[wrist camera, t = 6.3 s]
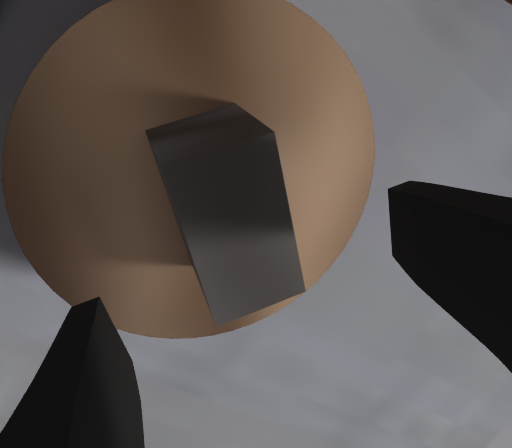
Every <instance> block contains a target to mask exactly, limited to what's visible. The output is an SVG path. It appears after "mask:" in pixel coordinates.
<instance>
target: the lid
mask: <svg viewBox="0 0 512 448" xmlns="http://www.w3.org/2000/svg"><path fill="white" fill-rule="evenodd" d="M374 157H375V145H374V129H373V122H372V115H371V111H370V107H369V103H368V100H367V96H366V93H365V90H364V88H363V86H362V83H361V81H360V79H359V76H358V74H357V72H356V70H355V68H354V67H353V65H352V63H351V62H350V60H349V58H348V57H347V55H346V53H345V52H344V51H343V50H342V48H341V47H340V46H339V45H338V43H337V42H336V41H335V40H334V39H333V37H332V36H331V35H330V34H329V33H328V32H327V31H326V30H325V29H324V28H323V27H322V26H320V25H319V24H318V23H317V22H316V21H315V20H314V19H313V18H312V17H310V16H309V15H307V14H306V13H304V12H303V11H301V10H300V9H298V8H297V7H295V6H294V5H292V4H291V3H289V2H287V1H285V0H112V1H110V2H108V3H106V4H104V5H102V6H100V7H98V8H96V9H94V10H93V11H92V12H90V13H89V14H87V15H86V16H85V17H83V18H82V19H80V20H79V21H78V22H76V23H75V24H74V25H72V26H71V27H70V28H69V29H68V30H67V31H66V32H65V33H64V34H63V35H62V36H61V37H60V38H59V39H58V40H57V41H56V42H55V43H54V44H53V45H52V46H51V47H50V48H49V50H48V51H47V52H46V54H45V55H44V56H43V58H42V59H41V60H40V62H39V63H38V64H37V66H36V67H35V68H34V70H33V71H32V72H31V74H30V76H29V78H28V80H27V82H26V84H25V85H24V87H23V89H22V91H21V93H20V95H19V97H18V99H17V101H16V104H15V107H14V110H13V113H12V116H11V119H10V122H9V124H8V128H7V133H6V139H5V145H4V151H3V176H2V182H3V189H4V196H5V203H6V209H7V212H8V215H9V219H10V222H11V225H12V228H13V232H14V234H15V236H16V238H17V240H18V242H19V244H20V246H21V248H22V250H23V253H24V254H25V256H26V257H27V259H28V260H29V262H30V263H31V265H32V266H33V268H34V269H35V271H36V272H37V274H38V275H39V276H40V277H41V278H42V279H43V280H44V281H45V282H46V283H47V284H48V286H49V287H50V288H51V289H52V290H53V291H54V292H55V293H56V294H58V295H59V296H60V297H61V298H63V299H64V300H65V301H66V302H67V303H69V304H70V305H71V306H75V305H78V304H80V303H83V302H86V301H88V300H91V299H94V298H96V297H99V296H100V298H101V300H102V302H103V304H104V306H105V308H106V310H107V312H108V314H109V316H110V318H111V320H112V322H113V324H114V326H115V328H116V329H120V330H123V331H126V332H129V333H133V334H138V335H144V336H149V337H158V338H170V339H175V338H196V337H204V336H211V335H216V334H220V333H224V332H229V331H233V330H235V329H238V328H241V327H244V326H247V325H250V324H252V323H254V322H257V321H259V320H261V319H263V318H265V317H267V316H270V315H271V314H273V313H275V312H276V311H278V310H280V309H281V308H283V307H285V306H287V305H288V304H289V303H291V302H292V301H293V300H295V299H296V298H298V297H299V296H300V295H302V294H303V293H304V292H306V290H307V289H309V288H310V287H311V286H312V285H313V284H314V283H315V282H316V281H318V279H319V278H320V277H321V276H322V275H323V274H324V273H325V272H326V271H327V270H328V269H329V268H330V267H331V265H332V264H333V263H334V261H335V260H336V259H337V257H338V256H339V255H340V253H341V252H342V251H343V249H344V247H345V246H346V244H347V242H348V241H349V239H350V237H351V236H352V234H353V232H354V230H355V228H356V226H357V224H358V222H359V220H360V217H361V215H362V212H363V209H364V207H365V204H366V201H367V198H368V194H369V190H370V185H371V181H372V176H373V167H374Z"/></svg>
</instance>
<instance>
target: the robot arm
mask: <svg viewBox="0 0 512 448" xmlns="http://www.w3.org/2000/svg"><path fill="white" fill-rule="evenodd" d="M388 199H389V213H390V228H391V242H392V256H393V257H394V258H395V260H396V261H397V262H398V263H399V265H400V266H401V267H402V268H403V269H404V271H405V272H406V273H407V274H408V275H409V277H410V278H411V279H412V280H413V281H414V282H415V283H416V284H417V285H418V286H419V287H420V288H421V289H422V290H423V291H424V292H425V293H426V294H427V295H428V296H430V297H431V298H432V299H433V300H434V301H435V302H436V303H437V304H438V305H440V306H441V307H442V308H443V309H444V310H445V311H446V312H447V313H449V314H450V315H451V316H452V317H453V318H454V319H455V320H457V321H458V322H459V323H460V324H461V325H462V326H463V327H464V328H466V329H467V330H468V331H469V332H470V333H471V334H472V335H473V336H475V337H476V338H477V339H478V340H479V341H480V342H481V343H483V344H484V345H485V346H486V347H487V348H488V349H489V350H490V351H491V352H492V353H493V354H494V355H495V356H496V357H497V358H498V359H499V360H500V361H501V362H502V363H503V364H504V365H505V366H506V367H507V368H508V369H509V371H510V372H511V373H512V198H510V197H504V196H498V195H493V194H487V193H482V192H476V191H471V190H466V189H460V188H455V187H449V186H444V185H438V184H432V183H425V182H417V181H408V182H405V183H402V184H400V185H397V186H394V187H392V188H389V189H388ZM0 448H145V446H144V433H143V421H142V409H141V400H140V395H139V390H138V385H137V380H136V375H135V371H134V366H133V362H132V359H131V357H130V355H129V353H128V351H127V349H126V348H125V346H124V344H123V342H122V340H121V338H120V336H119V334H118V332H117V330H116V328H115V326H114V324H113V322H112V320H111V318H110V316H109V314H108V312H107V310H106V308H105V306H104V304H103V302H102V300H101V298H100V296H99V297H96V298H94V299H91V300H88V301H86V302H83V303H80V304H78V305H75V306H72V307H71V309H70V311H69V313H68V314H67V316H66V318H65V320H64V322H63V324H62V326H61V328H60V330H59V332H58V334H57V336H56V338H55V340H54V342H53V343H52V345H51V347H50V349H49V351H48V353H47V355H46V357H45V359H44V361H43V362H42V364H41V366H40V368H39V370H38V372H37V374H36V375H35V377H34V379H33V381H32V383H31V384H30V386H29V388H28V389H27V391H26V393H25V394H24V396H23V398H22V399H21V401H20V403H19V404H18V406H17V407H16V409H15V411H14V412H13V414H12V416H11V417H10V419H9V421H8V422H7V424H6V425H5V427H4V428H3V430H2V432H1V433H0Z"/></svg>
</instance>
